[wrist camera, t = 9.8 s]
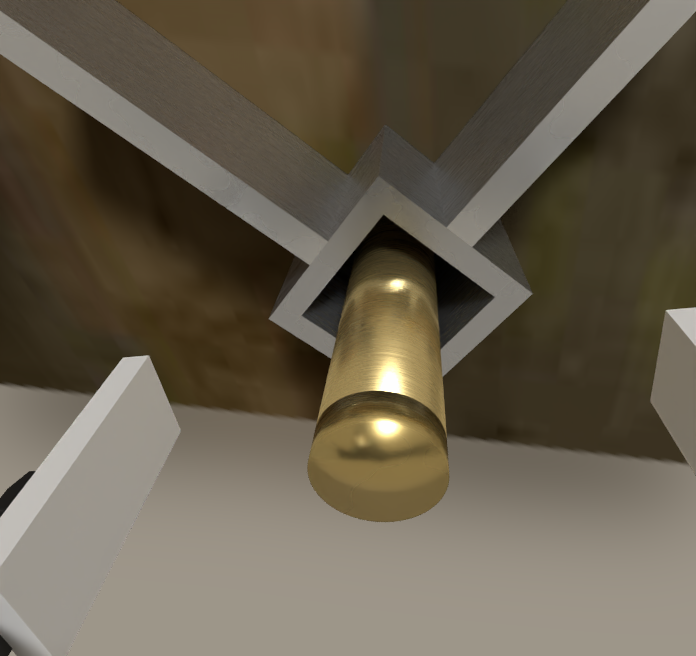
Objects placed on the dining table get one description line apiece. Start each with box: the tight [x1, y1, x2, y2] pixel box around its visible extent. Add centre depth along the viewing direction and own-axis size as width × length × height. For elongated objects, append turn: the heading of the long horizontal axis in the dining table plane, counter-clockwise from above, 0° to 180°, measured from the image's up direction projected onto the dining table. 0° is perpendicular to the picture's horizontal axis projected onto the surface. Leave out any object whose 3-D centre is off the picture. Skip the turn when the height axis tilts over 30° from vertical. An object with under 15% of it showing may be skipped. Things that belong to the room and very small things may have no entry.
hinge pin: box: [308, 214, 449, 522], centre depth 17 cm, size 3×3×14 cm
